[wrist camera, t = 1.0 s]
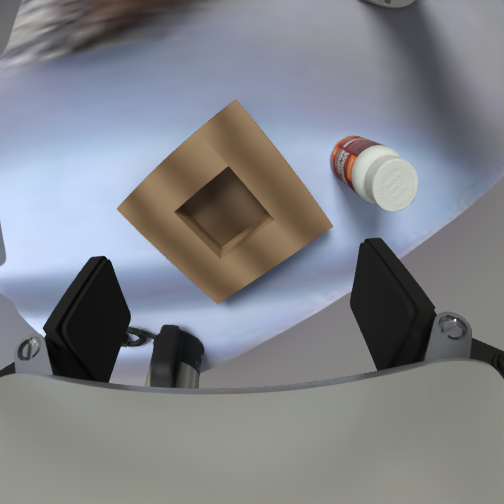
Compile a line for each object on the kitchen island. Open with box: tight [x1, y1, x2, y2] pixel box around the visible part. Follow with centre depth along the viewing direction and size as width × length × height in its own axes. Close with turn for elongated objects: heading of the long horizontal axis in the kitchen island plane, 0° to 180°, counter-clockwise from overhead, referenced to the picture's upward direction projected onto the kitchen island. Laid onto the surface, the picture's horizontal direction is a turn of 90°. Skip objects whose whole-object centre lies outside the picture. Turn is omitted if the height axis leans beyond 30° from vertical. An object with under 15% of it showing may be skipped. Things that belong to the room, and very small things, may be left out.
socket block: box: [117, 99, 333, 304], centre depth 33 cm, size 18×18×4 cm
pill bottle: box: [330, 136, 418, 212], centre depth 27 cm, size 6×6×11 cm
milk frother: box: [121, 325, 204, 389], centre depth 40 cm, size 14×16×15 cm
